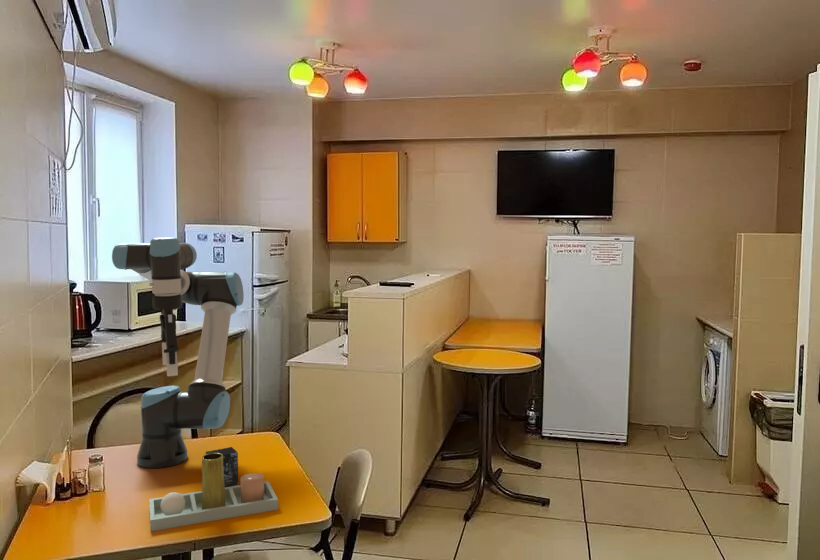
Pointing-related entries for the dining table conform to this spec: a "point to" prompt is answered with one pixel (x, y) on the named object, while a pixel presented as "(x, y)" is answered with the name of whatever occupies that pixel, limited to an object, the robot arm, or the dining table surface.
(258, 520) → the dining table surface
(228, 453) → the box
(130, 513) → the dining table surface
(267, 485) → the tray
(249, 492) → the pink pillar candle
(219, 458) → the vase
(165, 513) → the ball
